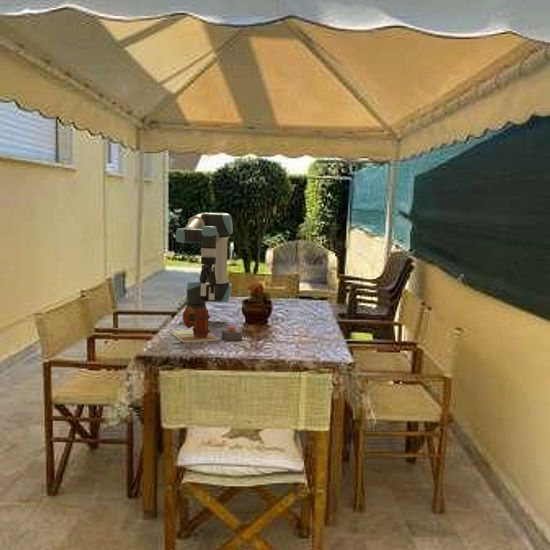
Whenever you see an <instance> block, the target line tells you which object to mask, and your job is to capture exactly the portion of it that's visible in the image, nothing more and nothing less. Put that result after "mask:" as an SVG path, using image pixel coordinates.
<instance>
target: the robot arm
mask: <svg viewBox="0 0 550 550" xmlns="http://www.w3.org/2000/svg"><path fill="white" fill-rule="evenodd" d="M233 225H234V224H233V218H232V216H231V214H229V213H227V212H226V213H225V212H206V211H205V212H200V213H196V214H195V215H193V216H191V217H190V218H189V219H188V221H187V225H185V227H180V228H179V227H178V228H177V229H176V231H175V232H176V233H175V240H176V242H177V243H182V244H188V243H189V244H201V250H200V253H201V257H200V264H201V271H200V276H199V279H196V280H190V281H188V282H187V285H186V306H185V309H186V308H187V307H192V308H193V309H194V310H196V309H208V308H207V303H228V302H229V301H230V299H231V292H232V287H233V286H232V285H233V284H232V283H230V279H229V278H228V240H229V238H230V237H231V234H233V232H234V231H233V229H234V228H233V227H234V226H233ZM207 279H208V282H207ZM193 315H194V314H191V315H189V320H190V321H193V322H195V318H194V316H193Z"/></svg>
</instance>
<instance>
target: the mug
mask: <svg viewBox="0 0 550 550" xmlns="http://www.w3.org/2000/svg"><path fill="white" fill-rule="evenodd" d="M191 314H194V315H193V316H194V318H195V321H193V322H192V320H189V315H191ZM210 318H211V316H210V314H209V309H208V308H207V309H196V310H194V309H193V308H192V307H187V308H186V307H185V309H184V311H183V313H182V319H183V323H184V325H185V327H186V328H188V329H191V328H192V330H193V334H194V336H196V337H206V336H208V333H211V331H210V329H209V319H210Z"/></svg>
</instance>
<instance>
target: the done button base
mask: <svg viewBox="0 0 550 550" xmlns="http://www.w3.org/2000/svg"><path fill="white" fill-rule="evenodd" d="M242 335H243V331H241V330H239V329H237V328H235V332H229V331H228V328H227V329H221V338H222V339H224V340H225V341H240V340H242V337H243V336H242Z"/></svg>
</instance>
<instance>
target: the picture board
mask: <svg viewBox="0 0 550 550" xmlns="http://www.w3.org/2000/svg"><path fill="white" fill-rule="evenodd" d="M168 332H169V334H170V335H172V336H173V337H175V339H176V338H177V340H179V341H180V342H182V343H183V342H184V343H186V342H187V343H201V342H216V341H217V342H218V341H219V338H218V337H217V336H214V335H213V334H211V332H209V333H208V336H206V337H196V336H194V334H193V329H182V330H181V329H180V330H179V329H176V330H169V331H168Z"/></svg>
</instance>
